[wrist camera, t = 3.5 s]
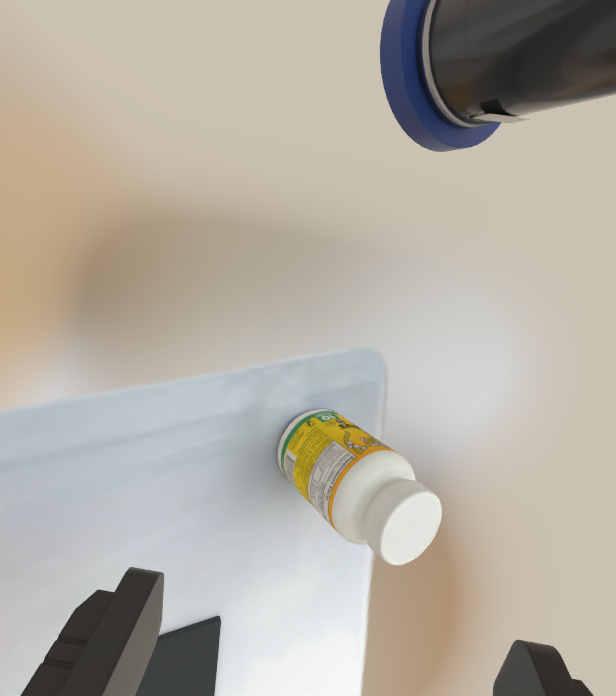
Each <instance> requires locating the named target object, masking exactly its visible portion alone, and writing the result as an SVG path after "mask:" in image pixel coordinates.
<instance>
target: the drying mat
mask: <svg viewBox="0 0 616 696" xmlns="http://www.w3.org/2000/svg"><path fill="white" fill-rule="evenodd" d="M220 626H221V619H220V617H219V616H217V617H214V618H211V619H208V620H205V621H203V622H200V623H197V624H194V625H191V626H188V627H185V628H182V629H179V630H176V631H173V632H171V633H168V634H165V635H162V636H159V637H158V638H157V641H156V645H155V647H154V650H153V653H152V655H151V657H150V660H149V662H148V665H147V667H146V670H145V672H144V675H143V677H142V680H141V682H140V684H139V687H138V689H137V692H136V694H135V696H214V693H215V682H216V671H217V659H218V648H219V637H220Z"/></svg>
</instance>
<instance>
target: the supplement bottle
mask: <svg viewBox="0 0 616 696" xmlns="http://www.w3.org/2000/svg"><path fill="white" fill-rule="evenodd" d="M278 463H279V467H280V469H281V471H282V473H283V474H284V476H285V477H286V478H287V479H288V480H289V482H290V483H291V484H292V485H293V486H294V487H295V488H296V489H297V490H298V491H299V492H300V493H301V494H302V495H303V496H304V497H305V498H306V499H307V500H308V501H309V502H310V503H311V504H312V505H313V506H314V508H315V509H316V510H317V511H318V512H319V513H320V514H321V515H322V516H323V517H324V518H325V519H326V521H327V522H328V523H329V524H330V525H331V526H332V527H333V528H334V529H335V530H336V531H337V532H338V533H339V534H340V535H341V536H342V537H343V538H345V539H346V540H348V541H350V542H352V543H355V544H361V545H367V544H368V545H369V546H370V548H371V549H372V550H374V551H375V552H376V553H377V554H378V555H379V556H380V557H381V558H383V560H384V561H386V562H387V563H389V564H392V565H402V564H405V563H408V562H410V561H412V560H413V559H415V558H416V557H417V556H419V555H420V554H421V553H422V552H423V551H424V550H425V549H426V548H427V546H428V545H429V544H430V543H431V541H432V540H433V538H434V536H435V534H436V532H437V529H438V527H439V524H440V521H441V515H442V509H441V503H440V501H439V499H438V497H437V496H436V495H434V493H432V492H431V491H430V490H429V489H427V488H426V487H425V486H423V485H422V484H421V483H420V482H417V481H416V480H415V476H414V472H413V470H412V468H411V466H410V465H409V463H408V462H407V461H406V460H405V458H403V457H402V456H401V455H400V454H398V453H397V452H395V451H394V450H392V449H391V448H389V447H388V446H386V445H384V444H383V443H381V442H380V441H378V440H377V439H375V438H374V437H372V436H371V435H369V434H368V433H366V432H365V431H364V430H362V429H360V428H359V427H357V426H356V425H354V424H353V423H351V422H350V421H348V420H347V419H345V418H344V417H342V416H341V415H339V414H337V413H336V412H334V411H331V410H328V409H318V410H312V411H308V412H305V413H303V414H302V415H300V416H299V417H297V418H296V419H294V420H293V422H292V423H291V424H290V425H289V426H288V427H287V429H286V430H285V432H284V433H283V435H282V437H281V440H280V443H279V447H278Z"/></svg>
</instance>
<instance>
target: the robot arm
mask: <svg viewBox="0 0 616 696" xmlns="http://www.w3.org/2000/svg"><path fill="white" fill-rule="evenodd" d="M416 60H417V68H418V74H419V78H420V82H421V86H422V88H423V91H424V94H425V96H426V98H427V100H428V102H429V104H430V106H431V107H432V109H433V110H434V112H435V113H436V114H437V115H438V116H439V117H440V118H441V119H442V120H443V121H444V122H446V123H447V124H449V125H451V126H453V127H456V128H460V129H468V128H473V127H478V126H482V125H485V124H488V123H492V122H504V123H514V122H519V121H524V120H528V119H524V118H517V117H516V116H521V115H525V114H530V113H535V112H539V111H543V110H548V109H553V108H557V107H562V106H566V105H571V104H575V103H579V102H583V101H588V100H593V99H597V98H602V97H606V96H611V95H615V94H616V0H425V3H424V5H423V8H422V11H421V14H420V18H419V22H418V28H417V36H416ZM163 588H164V574H163V573H161V572H156V571H150V570H145V569H140V568H134V567H130V568H129V569H128V570H127V572H126V573H125V575H124V576H123V578H122V580H121V582H120V583H119V585H118V587H117V589H116V591H115V592H109V591H104V590H97V591H96V592H95V593H94V594H92V595H91V596H90V597H89V598H88V599H87V600H85V601H84V602H83V603H82V604H81V605H80V606H79V607H77V608H76V609H75V610H74V612H73V614H72V615H71V617H70V618H69V620H68V621H67V623H66V625H65V626H64V628H63V629H62V631H61V633H60V634H59V637H58V639H57V641H55V642H54V644H53V645H52V647H51V648H50V650H49V651H48V653H47V655H46V656H45V659H44V661H43V663H41V664H40V666H39V667H38V669H37V670H36V672H35V674H34V675H33V677H32V678H31V680H30V682H29V683H28V685H27V686H26V688H25V689H24V691H23V693H22V694H21V696H135V694H136V692H137V689H138V687H139V684H140V682H141V680H142V677H143V675H144V672H145V670H146V667H147V665H148V662H149V660H150V657H151V655H152V653H153V650H154V647H155V645H156V641H157V638H158V635H159V631H160V627H161V621H162V607H163ZM493 696H593V694H592V693H591V692H590V691H589V690H588V688H587V687H586V686H585V685H584V684H583V682H582V681H581V680H575V679H572V678H571V677H570V674H569V672H568V670H567V668H566V666H565V663H564V661H563V659H562V657H561V655H560V654H559V652H558V651H557V650H556V649H555V648H554V647H553V646H550V645H544V644H538V643H533V642H528V641H522V640H516V641H515V642H514V643H513V645H512V647H511V649H510V651H509V653H508V655H507V657H506V659H505V661H504V663H503V665H502V667H501V669H500V672H499V674H498V676H497V678H496V680H495V682H494V687H493Z"/></svg>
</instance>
